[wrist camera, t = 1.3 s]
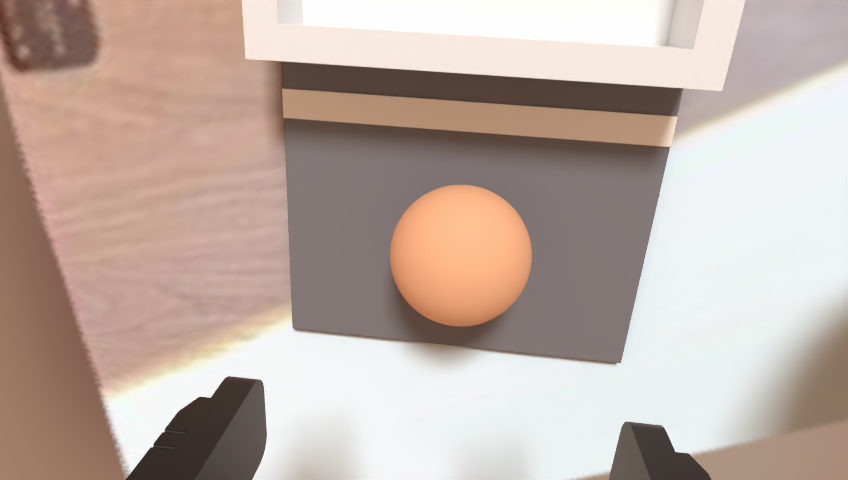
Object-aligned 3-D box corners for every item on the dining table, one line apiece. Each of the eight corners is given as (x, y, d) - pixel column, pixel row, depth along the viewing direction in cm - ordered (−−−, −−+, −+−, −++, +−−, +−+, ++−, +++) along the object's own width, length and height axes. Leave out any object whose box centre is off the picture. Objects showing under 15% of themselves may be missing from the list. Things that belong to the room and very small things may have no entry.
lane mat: (825, -561, 15) (836, -580, 15) (618, 358, 26) (621, 364, 26) (261, -549, 16) (254, -566, 16) (295, 324, 28) (291, 329, 27)
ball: (534, 174, 23) (548, 218, 18) (518, 292, 25) (527, 362, 20) (403, 163, 23) (380, 204, 18) (398, 280, 26) (376, 346, 20)
